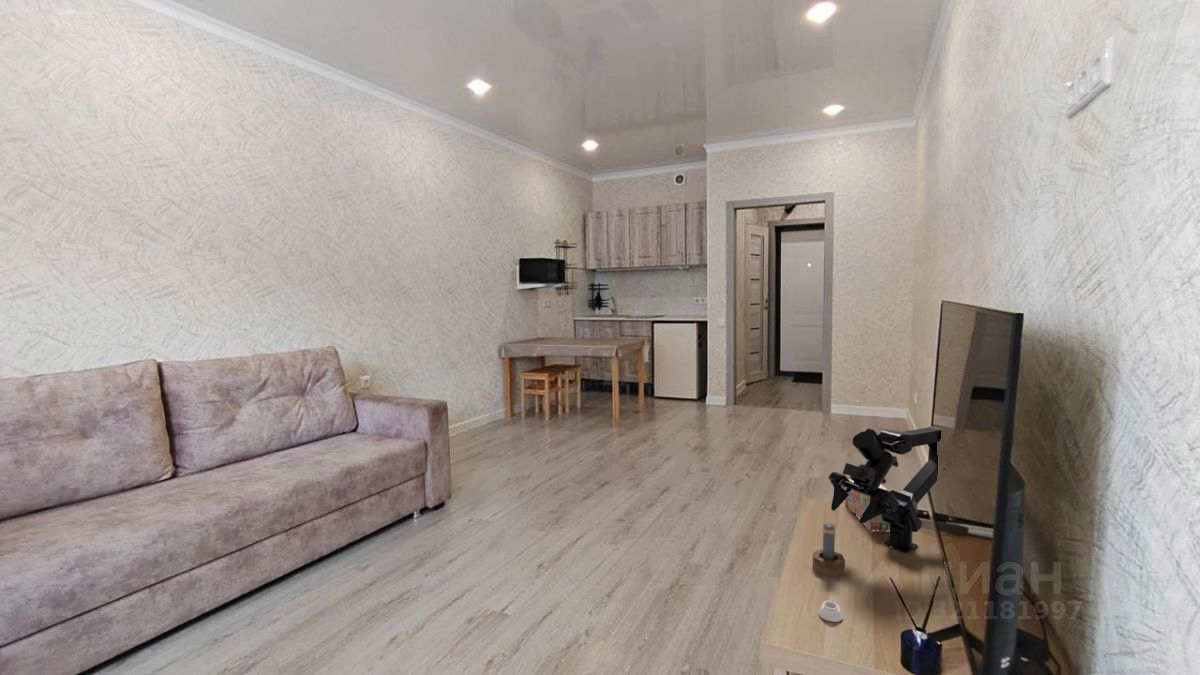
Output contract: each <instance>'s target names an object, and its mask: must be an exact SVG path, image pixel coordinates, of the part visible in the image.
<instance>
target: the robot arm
mask: <svg viewBox="0 0 1200 675" xmlns="http://www.w3.org/2000/svg"><path fill="white" fill-rule="evenodd" d="M940 428H941V427H937V426H934V425H931V426H930V425H929V426H927V427H924V428H923V427H922V428H917V429H911V430H906V431H900V430H894V429H883V430H881V431H880V432H878V433H877V431H875V429H872V428H866V429H865V431H860V432H859V433H857V434H856V435H854V436H853V438H852V445H853V447H855V449H856V450H857V451H858V452H859V454H860V455H861V456H862V458H864V459H865V460H866V462H865V463H864V464H862V463H860V464H859V465H858V466H857V465H854V464H851V463H849V462H845V465H844V468H843V471H842V473H840V472H837V471H832V472H831V473H830V475H829V476H828V477H827V478H828V480H829V481H830V484H831V485H832V486H833V494H832V495H833V496H832V500H831V506H830V509H831V510H832V511H833V512H834V511H836V510H837V509H838V508H839V507H841V504H842V503H844V502H845V499H846V498H847V497H848V496H849V494H848V493H847V492H850V491H851V490H854V491H857V492H859V493H862V494H864V495H867V496H869V497H870V503H869V505H868V507H867V508H866V510H865V511H864V513H863V515H862V516H861V519H860V520H859V523H860V524H861V525H864V524H863V523H865V522H867V521H869V520H870V519H872V518H874V517H876V516H878V515H880V514H881V515H882V519H883V521H884V522H887V523H890V532H888V533H889V538H888V540H885V541H884V542H883V544H884V545H885V544H886V545H885V546H887V545H888V547H890V546H891V547H890V548H892V547H893V549H895V550H897V549H898V551H900V552H902V553H906V554H907V553H909V552H910V551H913V550H915V549H916V548H918V547H919V545H918V544H917V543H913V537H914V536H913V535H914V534H913V533H918V532H919V530H921V528H922V524H923V521H922V520H921V519H920V517H918V504H919V503H920V501H922V499H923V498H924V497H925V495H927V493H929V491H930V490H931V488H932V487H933V486H934V485H935V484H936V483H937V482H938V480H937V475H938V455H937V442H940V439H941V429H940ZM926 445H927V446H928V448H929V452H928V453H929V459H928V460H927V461H926V463H924V465H923V466H922V467H921V468H920V469H919V470H918V472H917V473H916V474H915V475H914V476H913V477H912V479H910V481H909V482H908V483H907V484H906V485H905V487H903V488H902V490H900V491H897V490H894V489H892V490H891V489H890V491H889V490H888V491H886V490H884V489H881V488H879V486H880V484H881V485H882V484H884V485H885V484H886V483H887V480H886V476H887V475H888V473H889V472H890V470H891V469H892V467H894V468H898V467H899V462H898V459H897V458H898V457H897V456H895V455H892V454H891V453H893V454H898V455H901V456H903V455H905V454H907V453H909V452H911V451H912V450H913V448H914V447H915V448H916V447H920V446H926ZM846 475H847V476H849V478H848V477H847V476H846ZM849 479H851V480H853V481H854V483H853V482H850V481H849ZM858 488H859V489H858Z"/></svg>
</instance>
